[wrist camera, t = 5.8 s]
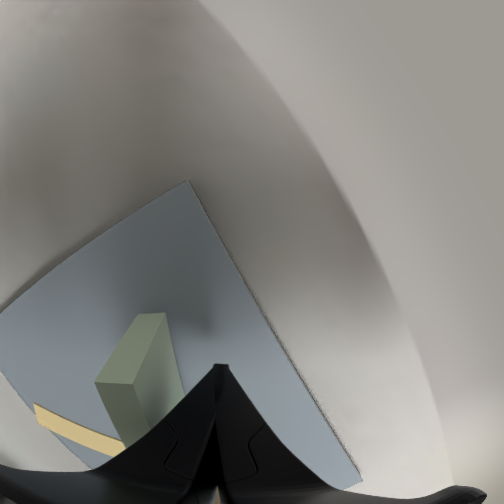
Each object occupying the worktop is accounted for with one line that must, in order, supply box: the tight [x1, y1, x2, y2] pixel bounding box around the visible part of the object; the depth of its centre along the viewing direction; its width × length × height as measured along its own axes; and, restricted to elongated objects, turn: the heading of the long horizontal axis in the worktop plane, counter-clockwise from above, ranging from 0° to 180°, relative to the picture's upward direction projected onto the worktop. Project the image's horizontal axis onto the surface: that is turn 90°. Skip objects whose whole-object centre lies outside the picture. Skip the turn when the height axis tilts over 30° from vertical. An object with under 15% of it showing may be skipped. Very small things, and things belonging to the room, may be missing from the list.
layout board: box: [0, 181, 363, 490], centre depth 12 cm, size 14×20×1 cm
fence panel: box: [94, 313, 185, 448], centre depth 8 cm, size 8×1×4 cm, turn 4°
